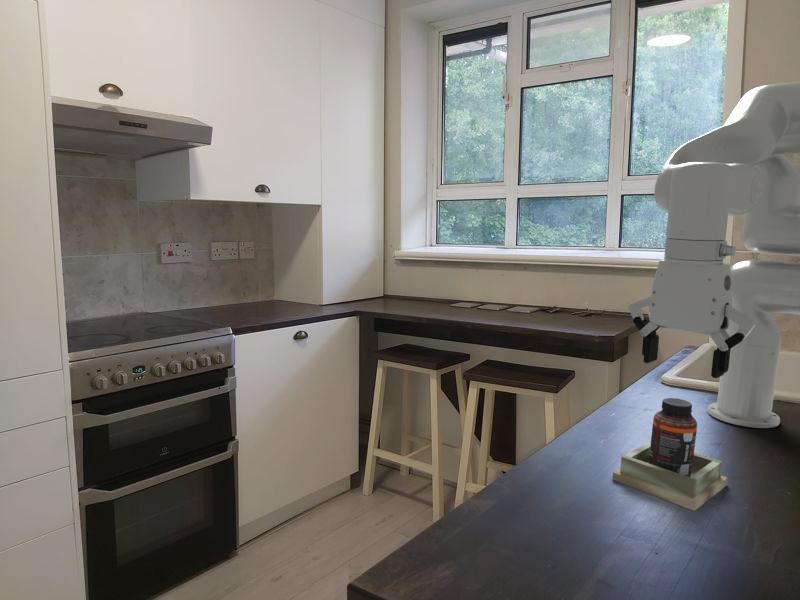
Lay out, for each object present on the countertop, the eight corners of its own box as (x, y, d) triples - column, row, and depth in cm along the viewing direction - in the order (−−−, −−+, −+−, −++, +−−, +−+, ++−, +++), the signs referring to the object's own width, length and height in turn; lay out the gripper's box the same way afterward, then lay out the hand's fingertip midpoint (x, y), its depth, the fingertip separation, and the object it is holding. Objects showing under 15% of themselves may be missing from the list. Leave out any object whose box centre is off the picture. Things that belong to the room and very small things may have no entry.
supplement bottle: (696, 484, 85) (705, 410, 83) (653, 480, 86) (661, 406, 84) (684, 467, 91) (692, 397, 89) (643, 463, 92) (651, 393, 90)
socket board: (648, 458, 96) (650, 437, 96) (726, 485, 88) (729, 461, 87) (612, 479, 88) (614, 456, 88) (694, 511, 80) (697, 485, 79)
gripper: (771, 255, 79) (757, 377, 82) (646, 246, 92) (637, 352, 95) (752, 258, 74) (737, 388, 77) (622, 249, 87) (614, 360, 90)
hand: (682, 368), depth 86 cm, fingers open, 9 cm apart
